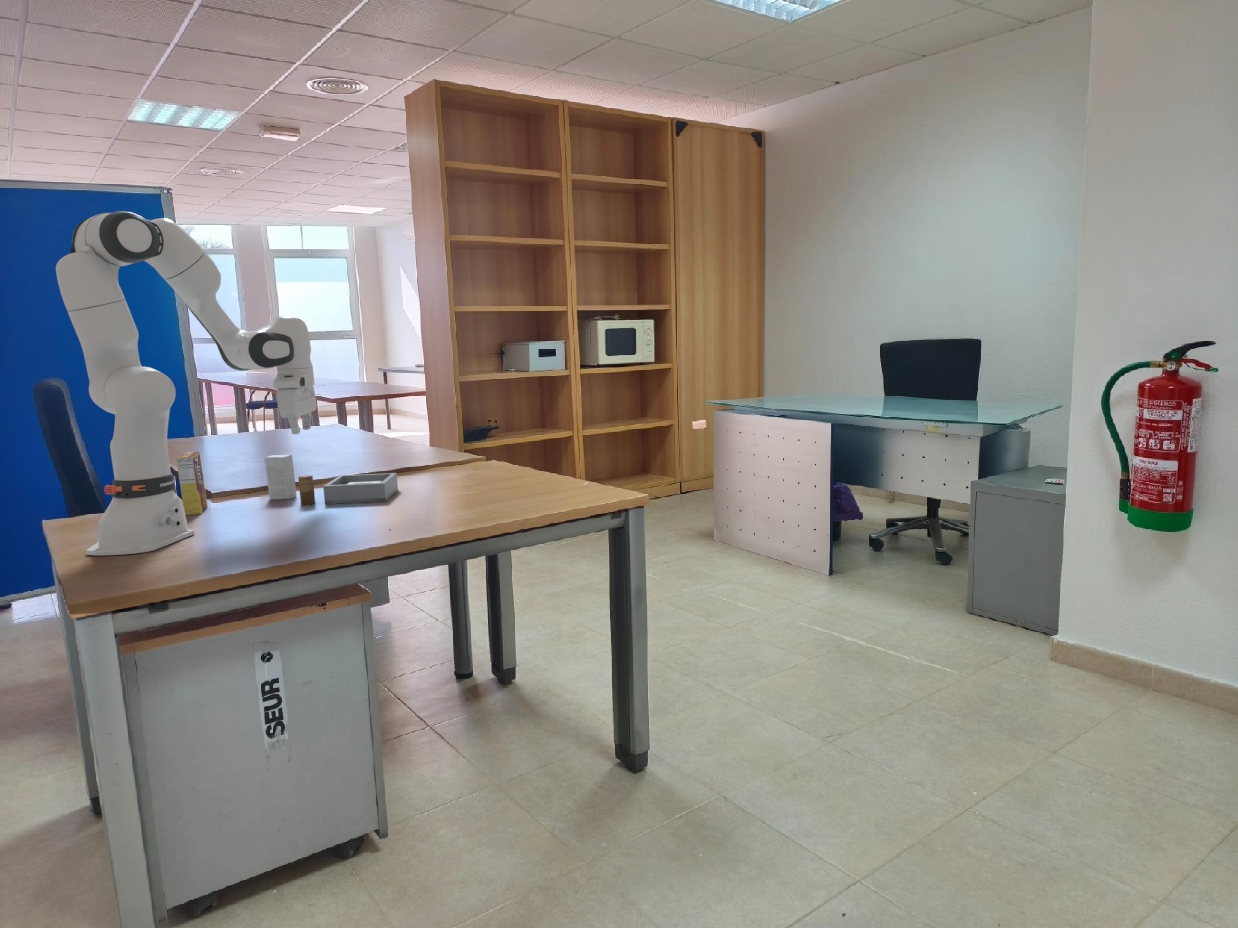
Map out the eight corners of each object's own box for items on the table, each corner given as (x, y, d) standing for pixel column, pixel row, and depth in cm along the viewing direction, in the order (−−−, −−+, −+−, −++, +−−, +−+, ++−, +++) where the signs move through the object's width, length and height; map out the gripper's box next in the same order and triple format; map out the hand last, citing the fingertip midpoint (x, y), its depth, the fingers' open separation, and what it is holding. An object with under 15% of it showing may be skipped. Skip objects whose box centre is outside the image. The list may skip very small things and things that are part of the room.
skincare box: (297, 496, 224) (292, 454, 222) (289, 499, 220) (285, 457, 218) (276, 496, 225) (272, 454, 223) (268, 499, 221) (264, 457, 219)
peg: (313, 505, 212) (310, 477, 210) (299, 505, 211) (296, 478, 210) (317, 502, 215) (314, 475, 214) (303, 502, 215) (300, 475, 214)
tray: (385, 501, 213) (384, 483, 212) (324, 504, 212) (323, 486, 211) (397, 489, 228) (396, 472, 228) (341, 492, 227) (339, 475, 227)
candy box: (190, 508, 212) (183, 452, 210) (208, 507, 213) (201, 451, 211) (182, 515, 204) (175, 457, 201) (201, 514, 205) (194, 456, 202)
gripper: (296, 377, 218) (301, 427, 220) (270, 382, 198) (276, 437, 200) (319, 376, 219) (324, 426, 221) (296, 381, 199) (302, 436, 201)
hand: (301, 431), depth 210 cm, fingers open, 8 cm apart
